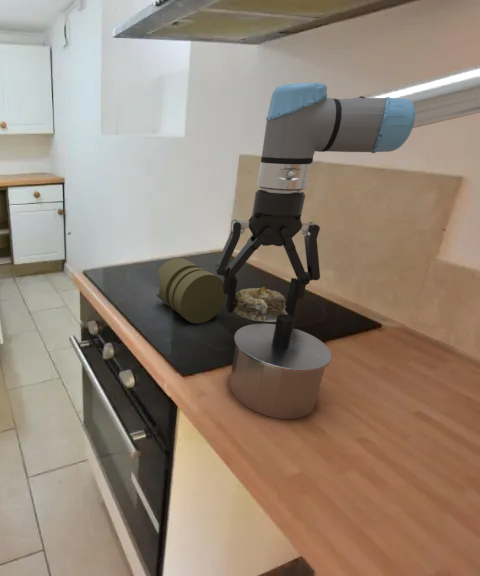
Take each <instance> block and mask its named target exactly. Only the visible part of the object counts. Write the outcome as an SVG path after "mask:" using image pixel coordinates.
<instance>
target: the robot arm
mask: <svg viewBox="0 0 480 576" xmlns="http://www.w3.org/2000/svg"><path fill="white" fill-rule="evenodd" d="M475 114H480V64H477V65H473V66H469V67H465V68H462V69H457V70H453V71H450V72H446V73H442V74H439V75H434V76H430V77H427V78H423V79H419V80H416V81H412V82H409V83H404V84H401V85H397V86H393V87H389V88H386V89H381V90H378V91H375V92H371V93H367V94H363V95H360V96H357V97H351V98H333V97H328V86H327V84H325V83H324V82H294V83H286V84H281V85H279V86H278V87H276V88H274V90H273V91H272V94H271V97H270V102H269V107H268V112H267V115H266V116H267V117H266V118H265V120H266V125H265V131H264V138H263V145H262V151H261V158H260V163H259V169H258V175H257V180H256V181H257V182H256V187H258V188H259V189H257V190H256V191H255V194H254V201H253V207H252V211H251V212H252V213H251V216H250V218H249V219H248V220H238V219H233V220H232V221H231V222H230V223H231V224H230V233H229V235H228V238H227V240H226V242H225V244H224V247H223V249H222V251H221V253H220V255H219V258H218V260H217V262H216V265H215V267H214V269H215V272H216V274H217V275H218V276H222V277H223V283H224V284H223V291H224V294H226V295H227V297H226V305H225V307H226V310H227V313H228V314H229V313H230V314H233V313H234V312H233V306H234V299H235V294H236V293H237V292H236V291H237V285H238V279H237V277H236V275H237V274H238V272H239V271H240V270H241V269H242V267H243V266H244V265H245V264H246V262H248V261H249V259H250V257H252V255H253V254H254V253H255V252H256V250H259V248H260V247H261V245H262V246H264V247H265V246H266V247H269V246H274V247H283V249H284V251H285V253H286V255H287V257H288V260H289V263H290V265H291V267H292V270H293V271H294V274H295V276H296V278H295V277H294V278H292V277H291V278H290V283H289V287H288V293H287V297H286V302H285V307H287V308H285V311H286V312H287V314H288V315H290V316H293V317H294V316H295V311H296V307H297V302H298V300H302V299H303V298H304V295H305V290H306V286H307V285H309V284H310V283H311V281H319V280H320V279H321V271H320V259H319V249H318V247H319V246H318V237H319V233H320V229H321V227H320V226H319V224H316V223H315V222H313V221H310V222H302V220H301V219H302V214H303V209H304V205H305V199H306V194H305V192H304V190H305V189H307V188H308V185H309V184H308V183H309V178H310V175H311V170H312V165H313V161H314V155H315V152H320V153H324V152H333V153H334V152H335V153H337V152H338V153H371V154H376V153H388V152H389V153H391V152H393V151H396V150H398V149H400V148H401V147H402V146H403V145H404V144H405V143H406V142H407V140H408V139H409V137H410V136H411V133H412V131H413V129H416V128H419V127H424V126H428V125H433V124H437V123H442V122H445V121H450V120H455V119H458V118H463V117H466V116H472V115H475ZM247 229H249V231H250V232H251V235H250V237H249V238H248V239H247V241H246V243H245V245H244V246H242V248H241V249H240V251H239V252H238V253H237V255H236V256H235V257H234V259H233V260H232V261H231V262H230V260H231V258H232V256H233V254H234V251H235V249H236V247H237V245H238V242H239V240H240V237H241V235H242V234H244V233H245V231H246V230H247ZM300 231H301V234H302V235H303V236H304V237H303V238H304V249H305V259H306V269H307V271H305V268H304V265H303V263H302V260H301V259H300V256H299V254H298V251H297V249H296V247H297V246H296V245H295V242H294V240H293V238H294V237H295V236H296V235H297V234H298V233H299V232H300ZM229 262H230V263H229ZM228 264H229V265H228Z"/></svg>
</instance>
